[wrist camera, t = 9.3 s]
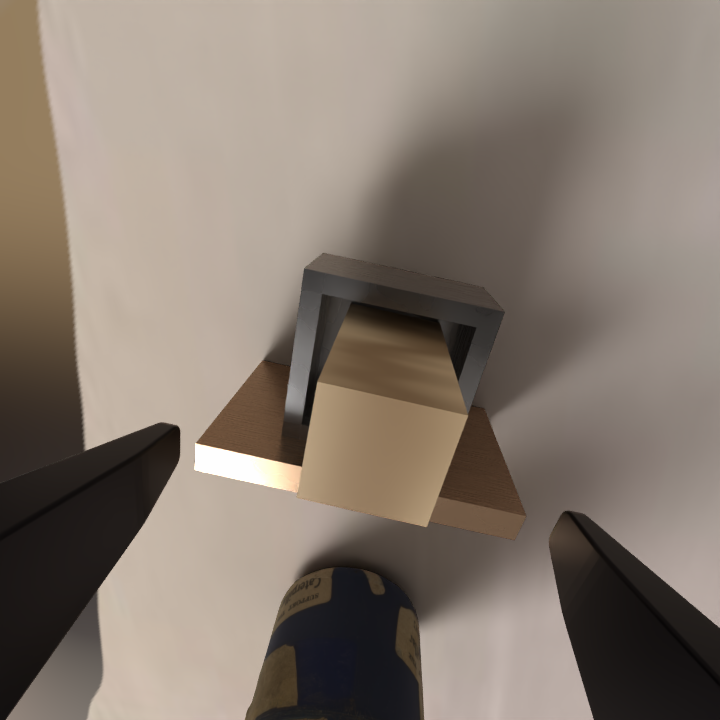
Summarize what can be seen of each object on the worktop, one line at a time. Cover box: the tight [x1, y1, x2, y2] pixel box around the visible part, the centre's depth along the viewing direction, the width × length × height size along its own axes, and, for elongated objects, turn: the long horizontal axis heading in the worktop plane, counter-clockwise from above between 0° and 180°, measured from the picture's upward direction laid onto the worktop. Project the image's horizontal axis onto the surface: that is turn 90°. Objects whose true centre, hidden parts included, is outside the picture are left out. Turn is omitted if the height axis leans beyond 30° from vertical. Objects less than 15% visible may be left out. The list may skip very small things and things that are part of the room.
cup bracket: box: [195, 253, 526, 540], centre depth 17 cm, size 12×13×8 cm
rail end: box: [297, 303, 468, 527], centre depth 13 cm, size 4×4×7 cm
